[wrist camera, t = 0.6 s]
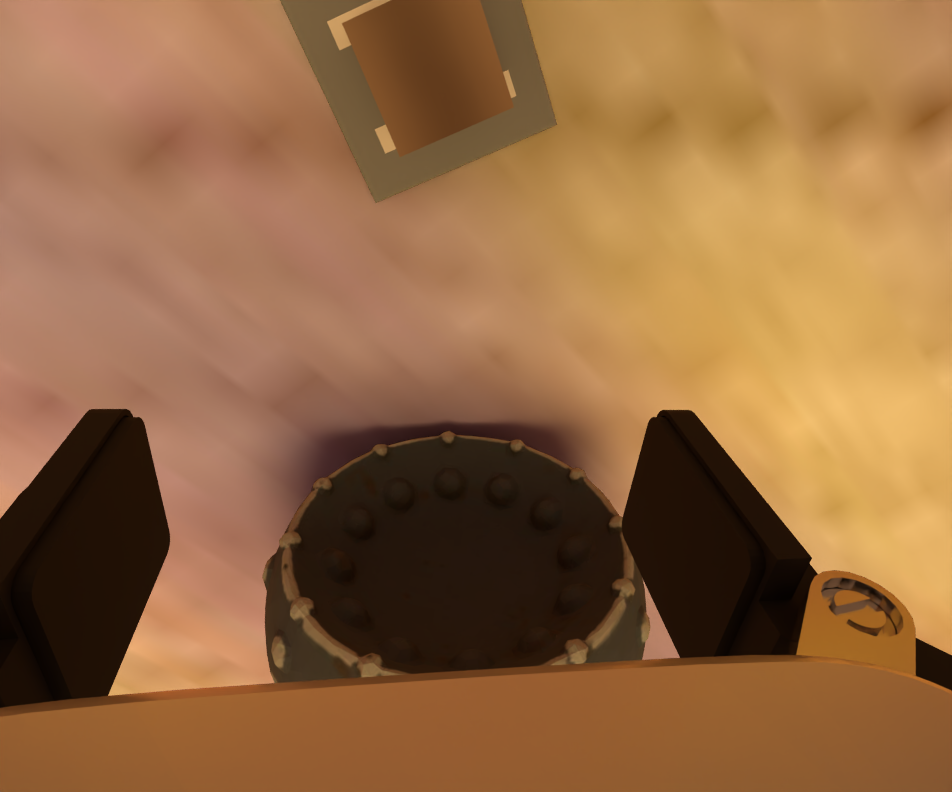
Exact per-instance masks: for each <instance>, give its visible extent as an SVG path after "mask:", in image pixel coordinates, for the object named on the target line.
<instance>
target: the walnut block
mask: <svg viewBox="0 0 952 792" xmlns="http://www.w3.org/2000/svg"><path fill="white" fill-rule="evenodd" d="M342 25H343V27H344V29H345V32H346V34H347V36H348V39H349V41H350V43H351V46H352V48H353V50H354V52H355V55H356V57H357V59H358V62H359V64H360V66H361V69H362V71H363V73H364V76H365V78H366V80H367V83H368V85H369V87H370V90H371V92H372V94H373V96H374V99H375V101H376V103H377V106H378V108H379V110H380V113H381V115H382V117H383V120H384V122H385V124H386V127H387V129H388V131H389V133H390V136H391V138H392V140H393V143H394V145H395V147H396V150H397V152H398V154H399V157H402V156H404V155H406V154H409V153H411V152H413V151H415V150H418V149H420V148H422V147H425V146H427V145H429V144H431V143H434V142H436V141H438V140H441V139H443V138H445V137H447V136H450V135H452V134H454V133H457V132H459V131H461V130H463V129H466V128H468V127H470V126H472V125H475V124H477V123H479V122H482V121H484V120H486V119H488V118H491V117H493V116H495V115H498V114H500V113H502V112H504V111H507V110H509V109H511V108H513V107H514V105H513V102H512V99H511V96H510V93H509V90H508V87H507V83H506V80H505V77H504V74H503V71H502V68H501V65H500V61H499V58H498V55H497V52H496V49H495V46H494V43H493V39H492V36H491V33H490V30H489V27H488V24H487V21H486V18H485V14H484V11H483V8H482V5H481V2H480V0H390V1H388V2H386V3H384V4H382V5H380V6H378V7H375V8H373V9H371V10H369V11H367V12H365V13H363V14H360V15H358V16H356V17H354V18H352V19H350V20H348V21H345V22H343V23H342Z"/></svg>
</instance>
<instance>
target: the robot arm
mask: <svg viewBox="0 0 952 792" xmlns="http://www.w3.org/2000/svg"><path fill="white" fill-rule="evenodd" d="M622 533H623V537H624V540H625V542H626V544H627V546H628V548H629V550H630V552H631V554H632V557H633V559H634V561H635V563H636V565H637V567H638V569H639V571H640V574H641V576H642V578H643V580H644V582H645V584H646V586H647V588H648V591H649V593H650V595H651V597H652V599H653V601H654V603H655V605H656V608H657V610H658V612H659V614H660V616H661V618H662V620H663V622H664V624H665V627H666V629H667V631H668V633H669V635H670V637H671V639H672V641H673V644H674V646H675V648H676V650H677V652H678V654H679V656H680V658H668V659H651V660H634V661H617V662H599V663H582V664H565V665H548V666H531V667H515V668H499V669H483V670H467V671H451V672H435V673H420V674H405V675H389V676H374V677H358V678H343V679H329V680H314V681H300V682H285V683H271V684H257V685H242V686H228V687H213V688H199V689H185V690H172V691H161V692H149V693H137V694H125V695H113V696H108V694H109V692H110V689H111V687H112V685H113V682H114V680H115V677H116V675H117V673H118V670H119V668H120V665H121V663H122V661H123V658H124V656H125V654H126V651H127V649H128V646H129V644H130V642H131V639H132V637H133V634H134V632H135V630H136V627H137V625H138V622H139V620H140V618H141V615H142V613H143V611H144V608H145V606H146V603H147V601H148V599H149V596H150V594H151V591H152V589H153V587H154V584H155V582H156V580H157V577H158V575H159V572H160V570H161V568H162V565H163V563H164V560H165V558H166V556H167V553H168V550H169V545H170V533H169V528H168V523H167V519H166V515H165V510H164V506H163V502H162V498H161V493H160V489H159V485H158V480H157V476H156V472H155V468H154V463H153V459H152V455H151V450H150V446H149V442H148V437H147V433H146V429H145V425H144V422H143V420H142V419H141V418H140V417H133V415H132V414H131V412H130V411H129V410H127V409H91V410H89V411H88V412H87V413H86V414H85V415H84V416H83V418H82V419H81V420H80V421H79V423H78V424H77V425H76V426H75V428H74V429H73V430H72V432H71V433H70V434H69V435H68V437H67V438H66V439H65V440H64V442H63V443H62V444H61V445H60V447H59V448H58V449H57V451H56V452H55V453H54V454H53V456H52V457H51V458H50V459H49V461H48V462H47V463H46V465H45V466H44V467H43V468H42V470H41V471H40V472H39V473H38V475H37V476H36V477H35V478H34V480H33V481H32V482H31V484H30V485H29V486H28V487H27V488H26V489H25V490H24V491H23V492H22V493H21V494H20V495H19V496H18V497H17V499H16V500H15V501H14V502H13V504H12V505H11V506H10V507H9V509H8V510H7V511H6V512H5V514H4V515H3V516H2V517H1V519H0V792H952V655H950V654H948V653H946V652H944V651H941V650H939V649H937V648H935V647H933V646H931V645H929V644H927V643H925V642H923V641H921V640H919V639H917V638H916V629H915V625H914V621H913V618H912V616H911V615H910V613H909V611H908V610H907V608H906V607H905V606H904V605H903V604H902V603H901V602H900V601H899V600H898V599H897V598H896V597H895V596H894V595H893V594H892V593H890V592H889V591H888V590H886V589H885V588H883V587H882V586H881V585H879V584H877V583H875V582H873V581H871V580H869V579H867V578H865V577H862V576H859V575H856V574H853V573H850V572H844V571H837V570H833V571H825V572H822V573H820V574H817V572H816V571H815V570H814V569H813V567H812V566H811V565H810V564H809V563H810V561H811V559H812V557H811V556H810V555H809V554H808V553H807V551H806V550H805V549H804V548H803V546H802V545H801V544H800V543H799V541H798V540H797V539H796V538H795V537H794V535H793V534H792V533H791V532H790V530H789V529H788V528H787V527H786V525H785V524H784V523H783V522H782V520H781V519H780V518H779V517H778V516H777V514H776V513H775V512H774V511H773V509H772V508H771V507H770V506H769V504H768V503H767V502H766V501H765V500H764V498H763V497H762V496H761V495H760V493H759V492H758V491H757V490H756V488H755V487H754V486H753V485H752V484H751V482H750V481H749V480H748V479H747V477H746V476H745V475H744V474H743V472H742V471H741V470H740V469H739V468H738V466H737V465H736V464H735V463H734V461H733V460H732V459H731V458H730V456H729V455H728V454H727V453H726V452H725V450H724V449H723V448H722V447H721V445H720V444H719V443H718V442H717V440H716V439H715V438H714V437H713V436H712V434H711V433H710V432H709V431H708V429H707V428H706V427H705V426H704V424H703V423H702V422H701V421H700V419H699V418H698V417H697V416H696V415H695V413H693V412H692V411H690V410H662V411H660V412H659V414H658V415H657V417H653V418H651V419H650V420H649V423H648V426H647V429H646V433H645V437H644V440H643V444H642V448H641V452H640V455H639V459H638V463H637V467H636V470H635V474H634V478H633V481H632V485H631V489H630V493H629V496H628V500H627V504H626V508H625V511H624V515H623V519H622Z"/></svg>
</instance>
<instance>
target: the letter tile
mask: <svg viewBox="0 0 952 792" xmlns="http://www.w3.org/2000/svg"><path fill="white" fill-rule="evenodd" d="M280 1H281V3H282V5H283V7H284V10H285V12H286V14H287V16H288V18H289V20H290V22H291V24H292V26H293V29H294V31H295V33H296V35H297V37H298V39H299V41H300V43H301V46H302V48H303V50H304V52H305V54H306V56H307V58H308V60H309V63H310V65H311V67H312V69H313V71H314V73H315V75H316V77H317V79H318V82H319V84H320V86H321V88H322V90H323V92H324V94H325V96H326V99H327V101H328V103H329V105H330V107H331V109H332V111H333V113H334V116H335V118H336V120H337V122H338V124H339V126H340V128H341V130H342V132H343V135H344V137H345V139H346V141H347V143H348V145H349V147H350V149H351V152H352V154H353V156H354V158H355V160H356V162H357V164H358V166H359V168H360V171H361V173H362V175H363V177H364V179H365V181H366V183H367V185H368V188H369V190H370V192H371V194H372V196H373V198H374V200H375V202H376V203H377V202H380V201H382V200H384V199H386V198H389V197H391V196H393V195H396V194H398V193H400V192H403V191H405V190H407V189H410V188H412V187H414V186H417V185H419V184H421V183H423V182H426V181H428V180H430V179H433V178H435V177H437V176H440V175H442V174H444V173H447V172H449V171H451V170H454V169H456V168H458V167H460V166H463V165H465V164H467V163H470V162H472V161H474V160H477V159H479V158H481V157H484V156H486V155H488V154H491V153H493V152H495V151H497V150H500V149H502V148H504V147H507V146H509V145H511V144H514V143H516V142H518V141H521V140H523V139H525V138H528V137H530V136H532V135H534V134H537V133H539V132H541V131H544V130H546V129H548V128H551V127H553V126H555V125H557V123H556V119H555V116H554V112H553V109H552V105H551V102H550V98H549V95H548V91H547V88H546V84H545V81H544V77H543V74H542V70H541V67H540V64H539V60H538V57H537V53H536V50H535V46H534V43H533V39H532V36H531V32H530V29H529V25H528V22H527V18H526V15H525V11H524V8H523V4H522V1H521V0H480V2H481V5H482V8H483V11H484V14H485V18H486V21H487V24H488V27H489V30H490V33H491V36H492V39H493V43H494V46H495V49H496V52H497V55H498V58H499V61H500V65H501V68H502V71H503V74H504V77H505V80H506V83H507V87H508V90H509V93H510V96H511V99H512V102H513V105H514V107H513V108H511V109H509V110H507V111H504V112H502V113H500V114H498V115H495V116H493V117H491V118H488V119H486V120H484V121H482V122H479V123H477V124H475V125H472V126H470V127H468V128H466V129H463V130H461V131H459V132H457V133H454V134H452V135H450V136H447V137H445V138H443V139H441V140H438V141H436V142H434V143H431V144H429V145H427V146H425V147H422V148H420V149H418V150H415V151H413V152H411V153H409V154H406V155H404V156H402V157H399V154H398V152H397V150H396V147H395V145H394V143H393V140H392V138H391V136H390V133H389V131H388V129H387V127H386V124H385V122H384V120H383V117H382V115H381V113H380V110H379V108H378V106H377V103H376V101H375V99H374V96H373V94H372V92H371V90H370V87H369V85H368V83H367V80H366V78H365V76H364V73H363V71H362V69H361V66H360V64H359V62H358V59H357V57H356V55H355V52H354V50H353V48H352V46H351V43H350V41H349V39H348V36H347V34H346V32H345V29H344V27H343V25H342V23H343V22H345V21H348V20H350V19H352V18H354V17H356V16H358V15H360V14H363V13H365V12H367V11H369V10H371V9H373V8H375V7H378V6H380V5H382V4H384V3H386V2H388V1H390V0H280Z"/></svg>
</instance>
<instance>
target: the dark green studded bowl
mask: <svg viewBox="0 0 952 792" xmlns="http://www.w3.org/2000/svg"><path fill="white" fill-rule="evenodd" d="M622 519H623V517H621V516H619V514H618V513H617V511H616V510H615V509H614V507H613V506H612V504H611V503H610V501H609V500H608V499H607V498H606V497H605V495H604V494H603V493H602V492H601V491H600V490H599V489H598V488H597V487H596V486H595V485H594V484H593V483H592V482H590V481H589V480H588V479H587V476H586V474H585V471H584V470H582V469H580V468H572V467H570V466H568V465H566V464H565V463H563V462H561V461H559V460H558V459H556V458H554V457H552V456H550V455H548V454H545V453H543V452H540V451H537V450H535V449H533V448H530V447H528V446H526V445H525V444H524V443H523V442H522V441H521V440H512V441H505V440H500V439H494V438H485V437H477V436H464V435H456V434H454V433H452V432H450V431H447V432H444V433H442V434H441V435H439V436H432V437H424V438H416V439H411V440H407V441H403V442H399V443H395V444H392V445H389V446H388V445H385V444H378V445H375V446H374V447H373V448H372V450H371V451H370V452H368V453H366V454H364V455H362V456H360V457H358V458H356V459H354V460H352V461H350V462H349V463H347V464H346V465H344V466H343V467H341V468H340V469H338V470H337V471H335V472H334V473H332V474H331V475H329V476H328V477H325V478H319V479H318V480H316V481H315V483H314V484H313V489H312V491H311V493H310V494H309V495H308V497H307V498H306V499H305V500H304V502H303V503H302V504H301V506H300V507H299V508H298V510H297V511H296V513H295V515H294V517H293V519H292V520H291V522H290V524H289V526H288V528H287V529H286V531H285V533H284V535H283V536H282V537H281V539H280V540H279V543H280V545H279V548H278V550H277V553H276V554H274V555H273V556H272V557H271V558H270V559H269V560H268V561H267V563H266V566H265V569H264V573H263V576H262V577H263V580H264V583H265V587H266V590H267V596H266V606H265V634H266V647H267V656H268V661H269V667H270V672H271V675H272V677H273V680H274V683H285V682H300V681H314V680H329V679H343V678H358V677H374V676H389V675H405V674H420V673H435V672H451V671H467V670H483V669H499V668H515V667H531V666H548V665H565V664H582V663H599V662H617V661H634V660H642V657H643V652H644V647H645V641H646V640H647V639H648V635H649V631H650V622H649V617H648V616H647V614H646V601H645V589H644V584H643V579H642V576H641V574H640V571H639V569H638V567H637V565H636V563H635V561H634V559H633V557H632V554H631V552H630V550H629V548H628V546H627V544H626V542H625V540H624V537H623V533H622Z"/></svg>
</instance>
